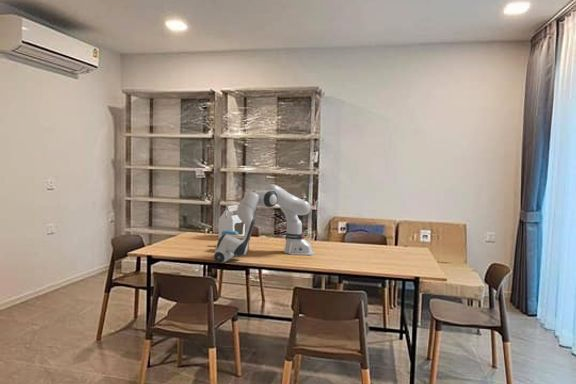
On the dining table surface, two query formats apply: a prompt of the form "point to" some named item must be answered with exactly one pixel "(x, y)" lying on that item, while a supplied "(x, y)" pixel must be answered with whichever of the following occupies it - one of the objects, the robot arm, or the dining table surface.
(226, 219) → the gable box
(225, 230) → the data package
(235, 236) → the carton
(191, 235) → the dining table surface
